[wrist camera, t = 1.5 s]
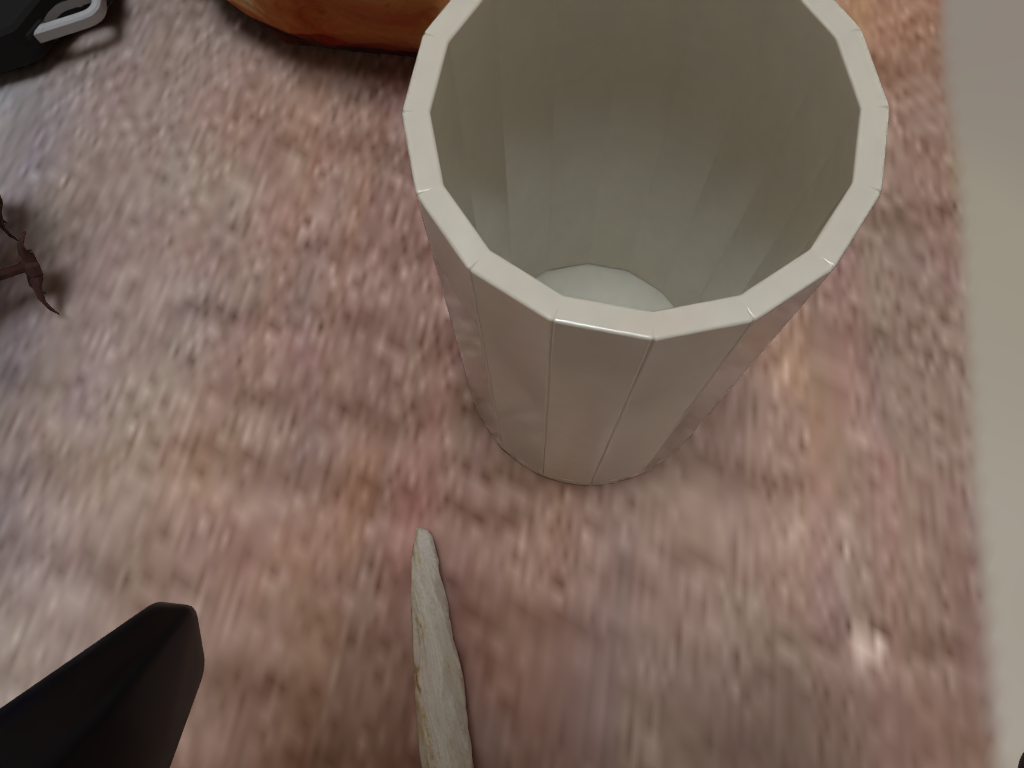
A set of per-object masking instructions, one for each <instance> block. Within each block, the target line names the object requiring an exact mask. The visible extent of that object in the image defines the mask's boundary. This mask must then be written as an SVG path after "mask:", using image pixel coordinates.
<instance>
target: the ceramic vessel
mask: <svg viewBox="0 0 1024 768" xmlns="http://www.w3.org/2000/svg"><path fill="white" fill-rule="evenodd" d="M227 1H228V2H229V3H231V4H232V5H234V6H235V7H236V8H238V9H239V10H241V11H242V12H243V13H245V14H246V15H248V16H250V17H251V18H253V19H254V20H255V21H257V22H258V23H259V24H261V25H262V26H263V27H265V28H266V29H267V30H269V31H270V32H272V33H273V34H274V35H276V36H277V37H278V38H280V39H281V40H282V41H284V42H285V43H286V44H296V45H309V46H320V47H327V48H334V49H341V50H348V51H355V52H369V53H383V54H394V55H405V56H414V57H417V55H418V51H419V47H420V44H421V40H422V37H423V35H424V34H425V31H426V30H427V28H428V27H429V26H430V25H431V24H432V22H433V21H434V20H435V19H436V17H437V16H438V15H439V14H440V13H441V11H442V10H443V9H444V8H445V7H446V5H447V4H448V3H449V2H450V0H227Z"/></svg>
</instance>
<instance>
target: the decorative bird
mask: <svg viewBox="0 0 1024 768" xmlns="http://www.w3.org/2000/svg"><path fill="white" fill-rule="evenodd" d="M2 208H3V201H2V198H1V196H0V228H1V229H2V230H3V231H4V232H5V233H6V234H7V235H8V236H9V237H11V238H13V239H15V240H17V241H18V243H17V251H18V254H19V256H20V258H21V261H20V262H19V263H17V264H14V265H11V266H8V267H5V268H2V269H0V280H4V279H7V278H9V277H12V276H15V275H18V274H21V273H24V272H25V273H26V275H27V279H28V283H29V286H30V287H32V288H33V290H34V292H35V294H36V296H37V298H38V299H39V300H40V301H41V302H42V303H43V304H44V305H45V306H46V307H47V308H48V309H49V310H50V311H52V312H55V313H57V314H59V313H58V312H57V311H55V310H54V309H53V308H52V307H51V306H50V305H49V304H48V303H47V302H46V300H45V296H44V294H46V293H45V292H44V291H43V288H42V283H43V273H42V270H41V268H40V265H39V263H38V261H37V259H36V257H35V255H34V253H33V252H32V250H26V248H25V247H24V239H25V236H26V230H25V231H24V232H23V233H22V234H21V235H20V237H19V240H18V239H17V238H15V237H14V236H13V235H12V234H11V233H10V232H9V231H8V230H7V229H6V228H5V224H4V223H7V222H6V221H5V220H3V216H2Z"/></svg>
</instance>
